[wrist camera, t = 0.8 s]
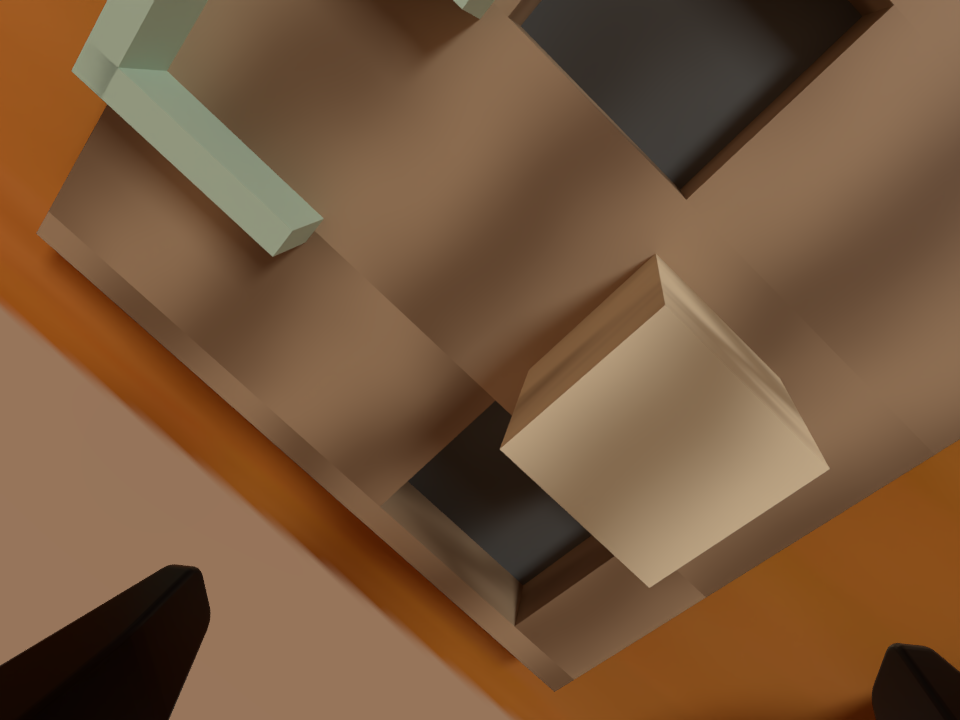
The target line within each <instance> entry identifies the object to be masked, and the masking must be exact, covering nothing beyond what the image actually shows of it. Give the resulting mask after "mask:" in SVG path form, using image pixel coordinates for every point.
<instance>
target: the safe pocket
mask: <svg viewBox="0 0 960 720" xmlns="http://www.w3.org/2000/svg"><path fill="white" fill-rule="evenodd" d="M207 1H208V0H107V2H106V4H105V6H104V8H103V10H102V12H101V14H100V16H99V18H98V20H97V22H96V24H95V26H94V28H93V30H92V32H91V34H90V36H89V37H88V39H87V41H86V43H85V45H84V47H83V49H82V51H81V53H80V55H79V57H78V59H77V61H76V63H75V65H74V67H73V69H72V72H73V73H74V74H75V75H76V76H77V77H79V78H80V79H81V80H82V81H83V82H84V83H85V84H86V85H87V86H88V87H89V88H90V89H92V90H93V91H94V92H95V93H96V94H97V95H98V96H99V97H100V98H101V99H102V100H103V101H105V102H106V103H107V104H108V105H109V106H110V107H111V108H112V109H113V110H114V111H115V112H116V113H118V114H119V115H120V116H121V117H122V118H123V119H124V120H125V121H126V122H127V123H128V124H129V125H131V126H132V127H133V128H134V129H135V130H136V131H137V132H138V133H139V134H140V135H141V136H142V137H144V138H145V139H146V140H147V141H148V142H149V143H150V144H151V145H152V146H153V147H154V148H155V149H157V150H158V151H159V152H160V153H161V154H162V155H163V156H164V157H165V158H166V159H167V160H168V161H170V162H171V163H172V164H173V165H174V166H175V167H176V168H177V169H178V170H179V171H180V172H181V173H183V174H184V175H185V176H186V177H187V178H188V179H189V180H190V181H191V182H192V183H193V184H194V185H196V186H197V187H198V188H199V189H200V190H201V191H202V192H203V193H204V194H205V195H206V196H207V197H209V198H210V199H211V200H212V201H213V202H214V203H215V204H216V205H217V206H218V207H219V208H220V209H222V210H223V211H224V212H225V213H226V214H227V215H228V216H229V217H230V218H231V219H232V220H233V221H234V222H236V223H237V224H238V225H239V226H240V227H241V228H242V229H243V230H244V231H245V232H246V233H247V234H249V235H250V236H251V237H252V238H253V239H254V240H255V241H256V242H257V243H258V244H259V245H260V246H262V247H263V248H264V249H265V250H266V251H267V252H268V253H269V254H270V255H271V256H272V257H273V256H276V255H278V254H280V253H283V252H285V251H287V250H289V249H292V248H294V247H296V246H299V245H301V244H303V243H305V242H306V241H307V240H308V238H309V237H310V236H311V235H312V233H313V232H314V231H315V229H316V228H317V227H318V226H319V224H320V223H321V222H322V220H323V219H324V218H323V217H322V216H321V215H320V214H318V213H317V212H316V211H315V210H314V209H313V208H312V207H311V206H310V205H309V204H308V203H307V202H306V201H305V200H304V199H303V198H301V197H300V196H299V195H298V194H297V193H296V192H295V191H294V190H293V189H292V188H291V187H290V186H289V185H288V184H287V183H286V182H284V181H283V180H282V179H281V178H280V177H279V176H278V175H277V174H276V173H275V172H274V171H273V170H272V169H271V168H270V167H269V166H267V165H266V164H265V163H264V162H263V161H262V160H261V159H260V158H259V157H258V156H257V155H256V154H255V153H254V152H253V151H252V150H250V149H249V148H248V147H247V146H246V145H245V144H244V143H243V142H242V141H241V140H240V139H239V138H238V137H237V136H236V135H235V134H233V133H232V132H231V131H230V130H229V129H228V128H227V127H226V126H225V125H224V124H223V123H222V122H221V121H220V120H219V119H218V118H216V117H215V116H214V115H213V114H212V113H211V112H210V111H209V110H208V109H207V108H206V107H205V106H204V105H203V104H202V103H201V102H199V101H198V100H197V99H196V98H195V97H194V96H193V95H192V94H191V93H190V92H189V91H188V90H187V89H186V88H185V87H184V86H182V85H181V84H180V83H179V82H178V81H177V80H176V79H175V78H174V77H173V76H172V75H171V74H170V73H169V72H168V71H167V70H168V68H169V67H170V65H171V63H172V62H173V60H174V58H175V56H176V55H177V53H178V51H179V49H180V48H181V46H182V44H183V43H184V41H185V39H186V37H187V36H188V34H189V32H190V31H191V29H192V27H193V25H194V24H195V22H196V20H197V19H198V17H199V15H200V13H201V12H202V10H203V8H204V6H205V5H206V3H207ZM494 1H495V0H454V2H455V3H456V4H457V5H458V6H459V7H460V8H461V9H463V10H464V11H466V12H468V13H470V14H472V15H473V16H475V17H477V18H479V19H481V17H482V16H483V15H484V13H485V12H486V11H487V10H488V8H489V7H490V6H491V5H492V3H493V2H494Z"/></svg>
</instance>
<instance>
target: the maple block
mask: <svg viewBox="0 0 960 720" xmlns="http://www.w3.org/2000/svg"><path fill="white" fill-rule="evenodd" d="M500 450H501V451H502V452H503V453H504V454H505V455H506V456H508V457H509V458H510V459H511V460H512V461H513V462H514V463H515V464H516V465H517V466H518V467H519V468H520V469H522V470H523V471H524V472H525V473H526V474H527V475H528V476H529V477H530V478H531V479H532V480H533V481H535V482H536V483H537V484H538V485H539V486H540V487H541V488H542V489H543V490H544V491H545V492H546V493H547V494H549V495H550V496H551V497H552V498H553V499H554V500H555V501H556V502H557V503H558V504H559V505H560V506H561V507H563V508H564V509H565V510H566V511H567V512H568V513H569V514H570V515H571V516H572V517H573V518H574V519H575V520H577V521H578V522H579V523H580V524H581V525H582V526H583V527H584V528H585V529H586V530H587V531H588V532H590V533H591V534H592V535H593V536H594V537H595V538H596V539H597V540H598V541H599V542H600V543H601V544H602V545H604V546H605V547H606V548H607V549H608V550H609V551H610V552H611V553H612V554H613V555H614V556H615V557H616V558H618V559H619V560H620V561H621V562H622V563H623V564H624V565H625V566H626V567H627V568H628V569H629V570H630V571H632V572H633V573H634V574H635V575H636V576H637V577H638V578H639V579H640V580H641V581H642V582H643V583H645V584H646V585H647V586H648V587H649V588H650V587H652V586H653V585H655V584H656V583H658V582H659V581H661V580H662V579H664V578H665V577H667V576H668V575H670V574H671V573H673V572H674V571H676V570H677V569H679V568H680V567H682V566H683V565H685V564H686V563H688V562H689V561H691V560H693V559H694V558H696V557H697V556H699V555H700V554H702V553H703V552H705V551H706V550H708V549H709V548H711V547H712V546H714V545H715V544H717V543H718V542H720V541H721V540H723V539H724V538H726V537H727V536H729V535H730V534H732V533H733V532H735V531H737V530H738V529H740V528H741V527H743V526H744V525H746V524H747V523H749V522H750V521H752V520H753V519H755V518H756V517H758V516H759V515H761V514H762V513H764V512H765V511H767V510H768V509H770V508H771V507H773V506H774V505H776V504H777V503H779V502H781V501H782V500H784V499H785V498H787V497H788V496H790V495H791V494H793V493H794V492H796V491H797V490H799V489H800V488H802V487H803V486H805V485H806V484H808V483H809V482H811V481H812V480H814V479H815V478H817V477H818V476H820V475H821V474H823V473H825V472H826V471H828V470H829V469H830V468H829V466H828V465H827V463H826V461H825V459H824V457H823V455H822V454H821V452H820V450H819V448H818V446H817V445H816V443H815V441H814V439H813V437H812V435H811V434H810V432H809V430H808V428H807V426H806V425H805V423H804V421H803V419H802V417H801V416H800V414H799V412H798V410H797V408H796V406H795V405H794V403H793V401H792V399H791V397H790V396H789V394H788V392H787V390H786V388H785V386H784V385H783V383H782V381H781V379H780V378H779V377H778V376H777V375H776V374H775V373H774V372H773V371H772V370H771V369H770V368H769V367H768V366H767V365H766V364H765V363H764V362H763V361H762V360H761V359H760V358H759V357H758V356H757V355H756V354H755V353H754V352H753V351H752V350H751V349H750V348H749V347H748V346H747V345H746V344H745V343H744V342H743V341H742V340H741V339H740V338H739V337H738V336H737V335H736V334H735V333H734V332H733V331H732V330H731V329H730V328H729V327H728V326H727V325H726V324H725V323H724V322H723V321H722V320H721V319H720V318H719V316H718V315H717V314H716V313H715V312H714V311H713V310H712V309H711V308H710V307H709V306H708V305H707V304H706V303H705V302H704V301H703V300H702V299H701V298H700V297H699V296H698V295H697V294H696V293H695V292H694V291H693V290H692V289H691V288H690V287H689V286H688V285H687V284H686V283H685V282H684V281H683V280H682V279H681V278H680V277H679V276H678V275H677V274H676V273H675V272H674V271H673V270H672V269H671V268H670V267H669V266H668V265H667V264H666V263H665V262H664V261H663V260H662V259H661V258H660V257H659V256H658V255H657V254H654V255H653V256H652V257H651V258H650V259H649V260H648V261H647V262H646V263H645V264H644V265H642V266H641V267H640V268H639V269H638V270H637V271H636V272H635V273H634V274H633V275H632V276H630V277H629V278H628V279H627V280H626V281H625V282H624V283H623V284H622V285H621V286H620V287H618V288H617V289H616V290H615V291H614V292H613V293H612V294H611V295H610V296H609V297H608V298H606V299H605V300H604V301H603V302H602V303H601V304H600V305H599V306H598V307H597V308H596V309H595V310H593V311H592V312H591V313H590V314H589V315H588V316H587V317H586V318H585V319H584V320H583V321H581V322H580V323H579V324H578V325H577V326H576V327H575V328H574V329H573V330H572V331H571V332H569V333H568V334H567V335H566V336H565V337H564V338H563V339H562V340H561V341H560V342H559V343H557V344H556V345H555V346H554V347H553V348H552V349H551V350H550V351H549V352H548V353H547V354H545V355H544V356H543V357H542V358H541V359H540V360H539V361H538V362H537V363H536V364H535V365H534V366H532V367H531V368H530V369H529V371H528V374H527V376H526V379H525V382H524V384H523V387H522V390H521V393H520V395H519V398H518V401H517V403H516V406H515V409H514V412H513V414H512V417H511V420H510V423H509V425H508V428H507V431H506V433H505V436H504V439H503V442H502V444H501V447H500Z"/></svg>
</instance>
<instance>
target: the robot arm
mask: <svg viewBox="0 0 960 720" xmlns="http://www.w3.org/2000/svg"><path fill="white" fill-rule="evenodd" d="M209 622H210V606H209V602H208V598H207V593H206V589H205V584H204V580H203V576H202V573H201V571H200V570H199V569H198V568H196V567H193V566H183V565H168V566H166V567H164V568H162V569H160V570H159V571H157V572H155V573H154V574H152V575H150V576H149V577H147V578H145V579H144V580H142V581H140V582H139V583H137V584H135V585H134V586H132V587H130V588H129V589H127V590H125V591H124V592H122V593H120V594H119V595H117V596H115V597H114V598H112V599H111V600H109V601H107V602H106V603H104V604H102V605H100V606H99V607H97V608H96V609H94V610H92V611H91V612H89V613H87V614H85V615H84V616H82V617H80V618H79V619H77V620H75V621H74V622H72V623H70V624H69V625H67V626H65V627H64V628H62V629H60V630H59V631H57V632H55V633H54V634H52V635H50V636H49V637H47V638H45V639H44V640H42V641H40V642H39V643H37V644H36V645H34V646H32V647H30V648H29V649H27V650H26V651H24V652H22V653H20V654H19V655H17V656H15V657H14V658H12V659H10V660H9V661H7V662H5V663H4V664H2V665H0V720H169V718H170V716H171V713H172V711H173V709H174V706H175V704H176V702H177V699H178V697H179V695H180V692H181V690H182V688H183V685H184V683H185V680H186V678H187V676H188V673H189V671H190V669H191V666H192V664H193V662H194V659H195V657H196V655H197V652H198V650H199V648H200V645H201V643H202V640H203V638H204V635H205V633H206V631H207V628H208V625H209ZM872 705H873V710H874V714H875V718H876V720H960V672H959V671H958V670H957V669H956V668H954V667H953V666H952V665H951V664H950V663H948V662H947V661H946V660H945V659H944V658H942V657H941V656H940V655H939V654H938V653H936V652H935V651H934V650H932V649H930V648H928V647H925V646H919V645H910V644H901V643H895V644H892V645H891V646H889V647H888V649H887V651H886V653H885V656H884V659H883V661H882V664H881V667H880V670H879V672H878V675H877V678H876V680H875V683H874V686H873V690H872Z"/></svg>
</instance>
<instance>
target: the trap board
mask: <svg viewBox="0 0 960 720" xmlns="http://www.w3.org/2000/svg"><path fill="white" fill-rule="evenodd" d="M167 71H168V72H169V73H170V74H171V75H172V76H173V77H174V78H175V79H176V80H177V81H178V82H179V83H180V84H181V85H182V86H184V87H185V88H186V89H187V90H188V91H189V92H190V93H191V94H192V95H193V96H194V97H195V98H196V99H197V100H198V101H199V102H201V103H202V104H203V105H204V106H205V107H206V108H207V109H208V110H209V111H210V112H211V113H212V114H213V115H214V116H215V117H216V118H218V119H219V120H220V121H221V122H222V123H223V124H224V125H225V126H226V127H227V128H228V129H229V130H230V131H231V132H232V133H233V134H235V135H236V136H237V137H238V138H239V139H240V140H241V141H242V142H243V143H244V144H245V145H246V146H247V147H248V148H249V149H250V150H252V151H253V152H254V153H255V154H256V155H257V156H258V157H259V158H260V159H261V160H262V161H263V162H264V163H265V164H266V165H267V166H269V167H270V168H271V169H272V170H273V171H274V172H275V173H276V174H277V175H278V176H279V177H280V178H281V179H282V180H283V181H284V182H286V183H287V184H288V185H289V186H290V187H291V188H292V189H293V190H294V191H295V192H296V193H297V194H298V195H299V196H300V197H301V198H303V199H304V200H305V201H306V202H307V203H308V204H309V205H310V206H311V207H312V208H313V209H314V210H315V211H316V212H317V213H318V214H320V215H321V216H322V217H323V218H324V219H323V220H322V222H321V223H320V224H319V226H318V227H317V228H316V229H315V231H314V232H313V233H312V235H311V236H310V237H309V238H308V240H307V241H306V242H305V243H303V244H301V245H299V246H296V247H294V248H292V249H289V250H287V251H285V252H283V253H280V254H278V255H276V256H273V257H272V256H271V255H270V254H269V253H268V252H267V251H266V250H265V249H264V248H263V247H262V246H260V245H259V244H258V243H257V242H256V241H255V240H254V239H253V238H252V237H251V236H250V235H249V234H247V233H246V232H245V231H244V230H243V229H242V228H241V227H240V226H239V225H238V224H237V223H236V222H234V221H233V220H232V219H231V218H230V217H229V216H228V215H227V214H226V213H225V212H224V211H223V210H222V209H220V208H219V207H218V206H217V205H216V204H215V203H214V202H213V201H212V200H211V199H210V198H209V197H207V196H206V195H205V194H204V193H203V192H202V191H201V190H200V189H199V188H198V187H197V186H196V185H194V184H193V183H192V182H191V181H190V180H189V179H188V178H187V177H186V176H185V175H184V174H183V173H181V172H180V171H179V170H178V169H177V168H176V167H175V166H174V165H173V164H172V163H171V162H170V161H168V160H167V159H166V158H165V157H164V156H163V155H162V154H161V153H160V152H159V151H158V150H157V149H155V148H154V147H153V146H152V145H151V144H150V143H149V142H148V141H147V140H146V139H145V138H144V137H142V136H141V135H140V134H139V133H138V132H137V131H136V130H135V129H134V128H133V127H132V126H131V125H129V124H128V123H127V122H126V121H125V120H124V119H123V118H122V117H121V116H120V115H119V114H118V113H116V112H115V111H114V110H113V109H112V108H111V107H110V106H109V105H108V104H107V106H106V108H105V110H104V112H103V113H102V115H101V117H100V119H99V121H98V123H97V124H96V126H95V128H94V130H93V132H92V133H91V135H90V137H89V139H88V141H87V143H86V144H85V146H84V148H83V150H82V152H81V153H80V155H79V157H78V159H77V161H76V162H75V164H74V166H73V168H72V170H71V172H70V173H69V175H68V177H67V179H66V181H65V182H64V184H63V186H62V188H61V190H60V192H59V193H58V195H57V197H56V199H55V201H54V202H53V204H52V206H51V208H50V210H49V212H48V213H47V215H46V217H45V219H44V221H43V222H42V224H41V226H40V228H39V230H38V231H37V233H36V234H37V235H39V236H40V237H41V238H42V239H43V240H44V241H45V242H46V243H48V244H49V245H50V246H51V247H52V248H53V249H54V250H56V251H57V252H58V253H59V254H60V255H61V256H62V257H63V258H65V259H66V260H67V261H68V262H69V263H70V264H71V265H72V266H74V267H75V268H76V269H77V270H78V271H79V272H80V273H82V274H83V275H84V276H85V277H86V278H87V279H88V280H89V281H91V282H92V283H93V284H94V285H95V286H96V287H97V288H98V289H100V290H101V291H102V292H103V293H104V294H105V295H106V296H108V297H109V298H110V299H111V300H112V301H113V302H114V303H115V304H117V305H118V306H119V307H120V308H121V309H122V310H123V311H125V312H126V313H127V314H128V315H129V316H130V317H131V318H132V319H134V320H135V321H136V322H137V323H138V324H139V325H140V326H141V327H143V328H144V329H145V330H146V331H147V332H148V333H149V334H151V335H152V336H153V337H154V338H155V339H156V340H157V341H158V342H160V343H161V344H162V345H163V346H164V347H165V348H166V349H167V350H169V351H170V352H171V353H172V354H173V355H174V356H175V357H177V358H178V359H179V360H180V361H181V362H182V363H183V364H184V365H186V366H187V367H188V368H189V369H190V370H191V371H192V372H193V373H195V374H196V375H197V376H198V377H199V378H200V379H201V380H203V381H204V382H205V383H206V384H207V385H208V386H209V387H210V388H212V389H213V390H214V391H215V392H216V393H217V394H218V395H220V396H221V397H222V398H223V399H224V400H225V401H226V402H227V403H229V404H230V405H231V406H232V407H233V408H234V409H235V410H236V411H238V412H239V413H240V414H241V415H242V416H243V417H244V418H246V419H247V420H248V421H249V422H250V423H251V424H252V425H253V426H255V427H256V428H257V429H258V430H259V431H260V432H261V433H262V434H264V435H265V436H266V437H267V438H268V439H269V440H270V441H272V442H273V443H274V444H275V445H276V446H277V447H278V448H279V449H281V450H282V451H283V452H284V453H285V454H286V455H287V456H288V457H290V458H291V459H292V460H293V461H294V462H295V463H296V464H298V465H299V466H300V467H301V468H302V469H303V470H304V471H305V472H307V473H308V474H309V475H310V476H311V477H312V478H313V479H314V480H316V481H317V482H318V483H319V484H320V485H321V486H322V487H324V488H325V489H326V490H327V491H328V492H329V493H330V494H331V495H333V496H334V497H335V498H336V499H337V500H338V501H339V502H341V503H342V504H343V505H344V506H345V507H346V508H347V509H348V510H350V511H351V512H352V513H353V514H354V515H355V516H356V517H357V518H359V519H360V520H361V521H362V522H363V523H364V524H365V525H367V526H368V527H369V528H370V529H371V530H372V531H373V532H374V533H376V534H377V535H378V536H379V537H380V538H381V539H382V540H383V541H385V542H386V543H387V544H388V545H389V546H390V547H391V548H393V549H394V550H395V551H396V552H397V553H398V554H399V555H400V556H402V557H403V558H404V559H405V560H406V561H407V562H408V563H409V564H411V565H412V566H413V567H414V568H415V569H416V570H417V571H419V572H420V573H421V574H422V575H423V576H424V577H425V578H426V579H428V580H429V581H430V582H431V583H432V584H433V585H434V586H435V587H437V588H438V589H439V590H440V591H441V592H442V593H443V594H445V595H446V596H447V597H448V598H449V599H450V600H451V601H452V602H454V603H455V604H456V605H457V606H458V607H459V608H460V609H462V610H463V611H464V612H465V613H466V614H467V615H468V616H469V617H471V618H472V619H473V620H474V621H475V622H476V623H477V624H478V625H480V626H481V627H482V628H483V629H484V630H485V631H486V632H488V633H489V634H490V635H491V636H492V637H493V638H494V639H495V640H497V641H498V642H499V643H500V644H501V645H502V646H503V647H504V648H506V649H507V650H508V651H509V652H510V653H511V654H512V655H514V656H515V657H516V658H517V659H518V660H519V661H520V662H521V663H523V664H524V665H525V666H526V667H527V668H528V669H529V670H530V671H532V672H533V673H534V674H535V675H536V676H537V677H538V678H540V679H541V680H542V681H543V682H544V683H545V684H546V685H547V686H549V687H550V688H551V689H552V690H553V691H554V692H555V691H557V690H558V689H560V688H561V687H563V686H565V685H566V684H568V683H569V682H571V681H573V680H574V679H576V678H577V677H579V676H581V675H582V674H584V673H585V672H587V671H589V670H590V669H592V668H593V667H595V666H597V665H598V664H600V663H601V662H603V661H605V660H606V659H608V658H609V657H611V656H613V655H614V654H616V653H617V652H619V651H621V650H622V649H624V648H626V647H627V646H629V645H630V644H632V643H634V642H635V641H637V640H638V639H640V638H642V637H643V636H645V635H646V634H648V633H650V632H651V631H653V630H654V629H656V628H658V627H659V626H661V625H662V624H664V623H666V622H667V621H669V620H670V619H672V618H674V617H675V616H677V615H678V614H680V613H682V612H683V611H685V610H686V609H688V608H690V607H691V606H693V605H694V604H696V603H698V602H699V601H701V600H702V599H704V598H706V597H707V596H709V595H710V594H712V593H714V592H715V591H717V590H718V589H720V588H722V587H723V586H725V585H727V584H728V583H730V582H731V581H733V580H735V579H736V578H738V577H739V576H741V575H743V574H744V573H746V572H747V571H749V570H751V569H752V568H754V567H755V566H757V565H759V564H760V563H762V562H763V561H765V560H767V559H768V558H770V557H771V556H773V555H775V554H776V553H778V552H779V551H781V550H783V549H784V548H786V547H787V546H789V545H791V544H792V543H794V542H795V541H797V540H799V539H800V538H802V537H803V536H805V535H807V534H808V533H810V532H811V531H813V530H815V529H816V528H818V527H819V526H821V525H823V524H824V523H826V522H828V521H829V520H831V519H832V518H834V517H836V516H837V515H839V514H840V513H842V512H844V511H845V510H847V509H848V508H850V507H852V506H853V505H855V504H856V503H858V502H860V501H861V500H863V499H864V498H866V497H868V496H869V495H871V494H872V493H874V492H876V491H877V490H879V489H880V488H882V487H884V486H885V485H887V484H888V483H890V482H892V481H893V480H895V479H896V478H898V477H900V476H901V475H903V474H904V473H906V472H908V471H909V470H911V469H912V468H914V467H916V466H917V465H919V464H920V463H922V462H924V461H925V460H927V459H929V458H930V457H932V456H933V455H935V454H937V453H938V452H940V451H941V450H943V449H945V448H946V447H948V446H949V445H951V444H953V443H954V442H956V441H957V440H959V439H960V0H495V1H494V2H493V3H492V5H491V6H490V7H489V8H488V10H487V11H486V12H485V13H484V15H483V16H482V17H481V19H479V18H477V17H475V16H473V15H472V14H470V13H468V12H466V11H464V10H463V9H461V8H460V7H459V6H458V5H457V4H456V3H455V2H454V0H208V1H207V3H206V5H205V6H204V8H203V10H202V12H201V13H200V15H199V17H198V19H197V20H196V22H195V24H194V25H193V27H192V29H191V31H190V32H189V34H188V36H187V37H186V39H185V41H184V43H183V44H182V46H181V48H180V49H179V51H178V53H177V55H176V56H175V58H174V60H173V62H172V63H171V65H170V67H169V68H168V70H167ZM654 254H657V255H658V256H659V257H660V258H661V259H662V260H663V261H664V262H665V263H666V264H667V265H668V266H669V267H670V268H671V269H672V270H673V271H674V272H675V273H676V274H677V275H678V276H679V277H680V278H681V279H682V280H683V281H684V282H685V283H686V284H687V285H688V286H689V287H690V288H691V289H692V290H693V291H694V292H695V293H696V294H697V295H698V296H699V297H700V298H701V299H702V300H703V301H704V302H705V303H706V304H707V305H708V306H709V307H710V308H711V309H712V310H713V311H714V312H715V313H716V314H717V315H718V316H719V318H720V319H721V320H722V321H723V322H724V323H725V324H726V325H727V326H728V327H729V328H730V329H731V330H732V331H733V332H734V333H735V334H736V335H737V336H738V337H739V338H740V339H741V340H742V341H743V342H744V343H745V344H746V345H747V346H748V347H749V348H750V349H751V350H752V351H753V352H754V353H755V354H756V355H757V356H758V357H759V358H760V359H761V360H762V361H763V362H764V363H765V364H766V365H767V366H768V367H769V368H770V369H771V370H772V371H773V372H774V373H775V374H776V375H777V376H778V377H779V378H780V379H781V381H782V383H783V385H784V386H785V388H786V390H787V392H788V394H789V396H790V397H791V399H792V401H793V403H794V405H795V406H796V408H797V410H798V412H799V414H800V416H801V417H802V419H803V421H804V423H805V425H806V426H807V428H808V430H809V432H810V434H811V435H812V437H813V439H814V441H815V443H816V445H817V446H818V448H819V450H820V452H821V454H822V455H823V457H824V459H825V461H826V463H827V465H828V466H829V468H830V469H829V470H828V471H826V472H825V473H823V474H821V475H820V476H818V477H817V478H815V479H814V480H812V481H811V482H809V483H808V484H806V485H805V486H803V487H802V488H800V489H799V490H797V491H796V492H794V493H793V494H791V495H790V496H788V497H787V498H785V499H784V500H782V501H781V502H779V503H777V504H776V505H774V506H773V507H771V508H770V509H768V510H767V511H765V512H764V513H762V514H761V515H759V516H758V517H756V518H755V519H753V520H752V521H750V522H749V523H747V524H746V525H744V526H743V527H741V528H740V529H738V530H737V531H735V532H733V533H732V534H730V535H729V536H727V537H726V538H724V539H723V540H721V541H720V542H718V543H717V544H715V545H714V546H712V547H711V548H709V549H708V550H706V551H705V552H703V553H702V554H700V555H699V556H697V557H696V558H694V559H693V560H691V561H689V562H688V563H686V564H685V565H683V566H682V567H680V568H679V569H677V570H676V571H674V572H673V573H671V574H670V575H668V576H667V577H665V578H664V579H662V580H661V581H659V582H658V583H656V584H655V585H653V586H652V587H650V588H649V587H648V586H647V585H646V584H645V583H643V582H642V581H641V580H640V579H639V578H638V577H637V576H636V575H635V574H634V573H633V572H632V571H630V570H629V569H628V568H627V567H626V566H625V565H624V564H623V563H622V562H621V561H620V560H619V559H618V558H616V557H615V556H614V555H613V554H612V553H611V552H610V551H609V550H608V549H607V548H606V547H605V546H604V545H602V544H601V543H600V542H599V541H598V540H597V539H596V538H595V537H594V536H593V535H592V534H591V533H590V532H588V531H587V530H586V529H585V528H584V527H583V526H582V525H581V524H580V523H579V522H578V521H577V520H575V519H574V518H573V517H572V516H571V515H570V514H569V513H568V512H567V511H566V510H565V509H564V508H563V507H561V506H560V505H559V504H558V503H557V502H556V501H555V500H554V499H553V498H552V497H551V496H550V495H549V494H547V493H546V492H545V491H544V490H543V489H542V488H541V487H540V486H539V485H538V484H537V483H536V482H535V481H533V480H532V479H531V478H530V477H529V476H528V475H527V474H526V473H525V472H524V471H523V470H522V469H520V468H519V467H518V466H517V465H516V464H515V463H514V462H513V461H512V460H511V459H510V458H509V457H508V456H506V455H505V454H504V453H503V452H502V451H501V450H500V447H501V444H502V442H503V439H504V436H505V433H506V431H507V428H508V425H509V423H510V420H511V417H512V414H513V412H514V409H515V406H516V403H517V401H518V398H519V395H520V393H521V390H522V387H523V384H524V382H525V379H526V376H527V374H528V371H529V369H530V368H531V367H532V366H534V365H535V364H536V363H537V362H538V361H539V360H540V359H541V358H542V357H543V356H544V355H545V354H547V353H548V352H549V351H550V350H551V349H552V348H553V347H554V346H555V345H556V344H557V343H559V342H560V341H561V340H562V339H563V338H564V337H565V336H566V335H567V334H568V333H569V332H571V331H572V330H573V329H574V328H575V327H576V326H577V325H578V324H579V323H580V322H581V321H583V320H584V319H585V318H586V317H587V316H588V315H589V314H590V313H591V312H592V311H593V310H595V309H596V308H597V307H598V306H599V305H600V304H601V303H602V302H603V301H604V300H605V299H606V298H608V297H609V296H610V295H611V294H612V293H613V292H614V291H615V290H616V289H617V288H618V287H620V286H621V285H622V284H623V283H624V282H625V281H626V280H627V279H628V278H629V277H630V276H632V275H633V274H634V273H635V272H636V271H637V270H638V269H639V268H640V267H641V266H642V265H644V264H645V263H646V262H647V261H648V260H649V259H650V258H651V257H652V256H653V255H654Z"/></svg>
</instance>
